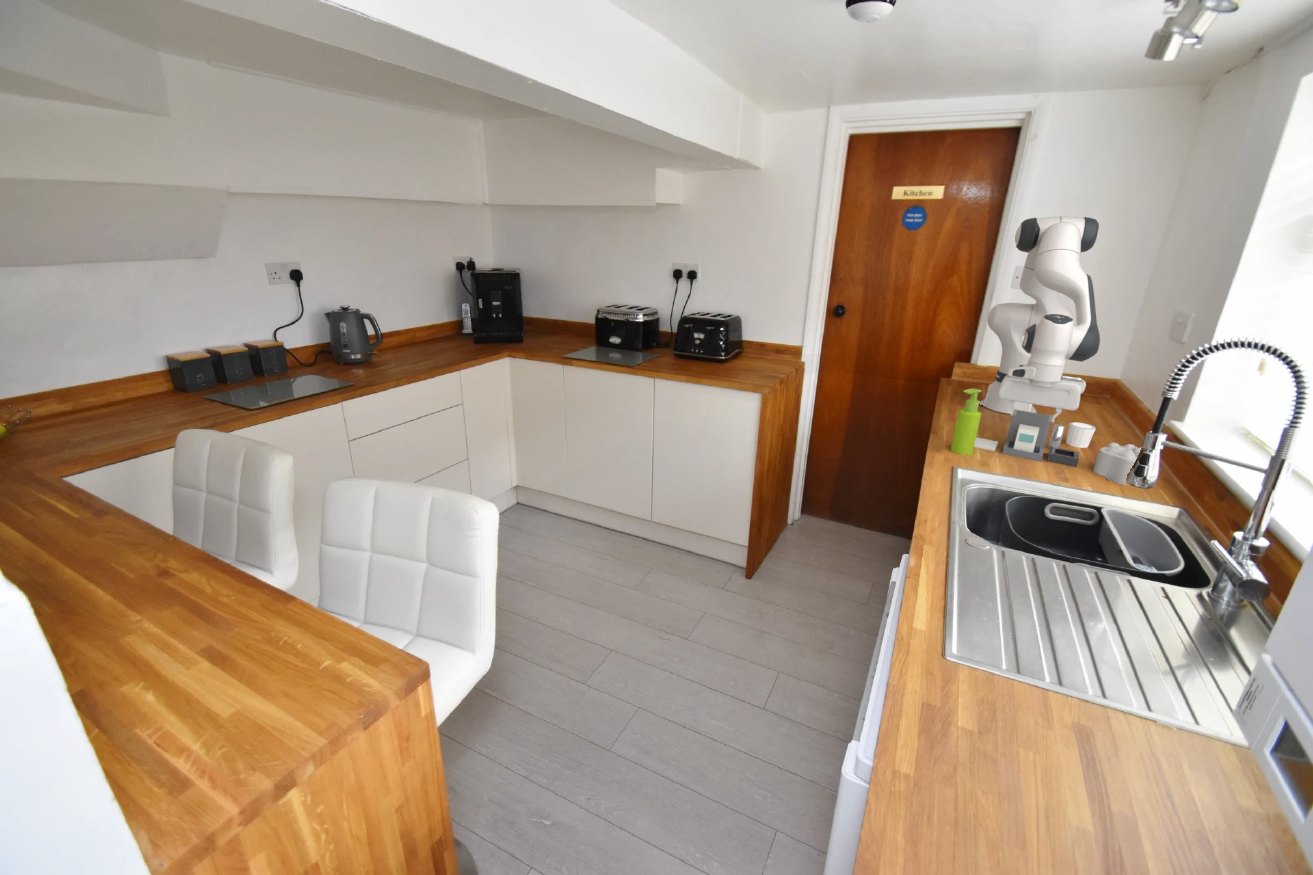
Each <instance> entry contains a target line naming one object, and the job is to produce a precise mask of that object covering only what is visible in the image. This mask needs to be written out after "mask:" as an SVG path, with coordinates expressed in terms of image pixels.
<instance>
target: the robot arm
mask: <svg viewBox="0 0 1313 875" xmlns="http://www.w3.org/2000/svg"><path fill="white" fill-rule="evenodd" d="M1099 236H1100V224H1099V222H1098V220H1097V219H1096V218H1094V217H1093V218H1092V217H1087V216H1084V217H1078V216H1068V215H1067V216H1066V215H1065V216H1062V215H1061V216H1051V217H1049V216H1048V217H1039V218H1038V217H1032V218H1027V219H1025V220H1023V221H1022V222H1020V225H1018V228H1017V229H1016V232H1015V234H1014V242H1015V248H1016V249H1017V250H1018V251H1019V252H1024V253H1027V256H1026V258H1025V261H1024V266H1023V269H1022V274H1021V278H1020V282H1019V288H1020V290H1021V292H1023V294H1025V295H1027V296H1028V297H1030V298H1032V299H1033V300H1034V301H1035V303H1021V302H1020V303H1019V302H1005V303H997V304H996V305H994V306H993V307H992V308H991V309H990V310H989V312H988V315H987V319H986V320H987V321H986V322H987V325H988V327H989V329H990V330H991V331H992V332H993V333H994V334H995V335H996V337H998V339H999V342H1000V345H1001V355H1000V356H1001V358H1000V364H999V367H998V370H997V371H996V373H995V377H994V380H995V381H993V382H992V383H990V384H989V385H988V388H987V392H986V396H985V398H984V399H982V400H979V404H980V405H979V406H981V405H983V406H982V407H985V408H987V409H988V410H992V411H993V412H996V413H997V412H998V413H1002V414H1007V415H1010V416H1011V417H1012V416H1016V415H1017V411H1018V410H1021V411H1027V412H1033V413H1037V410H1036V409H1035V406H1034V405H1036V406H1042V407H1046V408H1047V407H1048V408H1055V413H1053V414H1052V415H1051V414H1048V415H1049V419H1048V422H1051V423H1053V424H1055V423H1054V422H1055V419H1056V418H1057V417H1058V416H1059V415H1061V413H1062V412H1063V410H1068V411H1077V409H1078V408H1079V407H1080V402H1081V395H1082V394H1083V393H1084V392H1085V390H1086V387H1087V383H1086V381H1085V380H1084V379H1082V377H1078V376H1077V377H1076V376H1070V375H1064V370H1065V366H1066V360H1069V361H1075V362H1081V363H1082V362H1084V361H1085V362H1086V361H1087V360H1089V359H1091V358H1092V357H1094V356H1095V355H1096V354H1098V351H1099V348H1100V344H1101V335H1100V330H1099V326H1098V323H1097V322H1098V319H1097V309H1096V301H1095V300H1096V299H1095V289H1094V284H1093V283H1094V282H1093V280H1092V278H1091V277H1092V276H1091V275H1089V274H1087V273H1086V272H1085V271H1084V269H1083V268H1082V265H1081V253H1085V252H1088V251H1089V250H1092V248H1093V247H1094V245H1095V244H1096V242H1097V241H1098V240H1099ZM1059 293H1060V294H1062V295H1063V296H1066V297H1068V299H1069V298H1070V300H1072V301H1073V303H1074V306H1075V318H1076V325H1075V324H1074V323H1075V322H1074V321H1075V320H1074V317H1073V313H1072V312H1071V310H1069V309H1068V307H1066V306H1065V305H1064V303H1062V301H1061V298H1060V296H1059ZM1023 336H1024V337H1023ZM1022 338H1023V340H1022Z"/></svg>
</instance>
